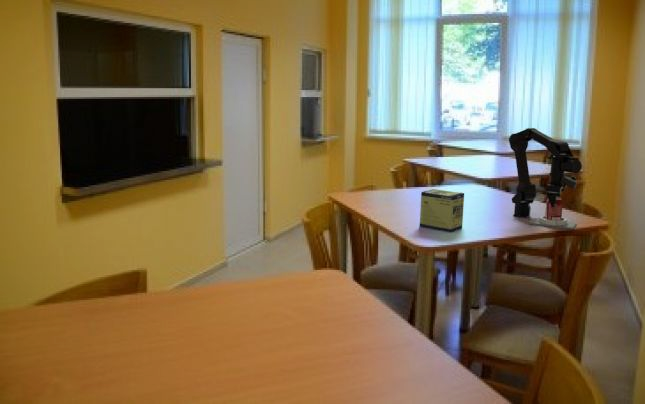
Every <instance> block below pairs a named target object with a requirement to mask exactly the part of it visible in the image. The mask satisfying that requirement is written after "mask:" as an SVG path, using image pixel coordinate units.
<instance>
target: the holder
mask: <svg viewBox="0 0 645 404" xmlns="http://www.w3.org/2000/svg"><path fill="white" fill-rule="evenodd" d="M528 224H529V225H532V226H540V227H547V228H555V229H556V228H557V229H564V230H572V231H573V230H574V228H575V227H576V226H577V222H574V221H568V218H567V217H564V216H562V217H561V220H557V221H556V220H547V219H545V215H541V216H539V217H534V218H532V220H531V221H530V222H529V223H528Z"/></svg>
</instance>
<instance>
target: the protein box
mask: <svg viewBox="0 0 645 404" xmlns="http://www.w3.org/2000/svg"><path fill="white" fill-rule="evenodd" d="M464 201H465V192H457V191H449V190H442V189H429V190H424V191H421V194H420V213H419V215H420V216H419V228H425V229H429V228H430V230H435V231H441V232H446V233H453V232H456V231H458V230H462V229H463V223H464V222H463V219H464Z"/></svg>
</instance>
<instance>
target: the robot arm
mask: <svg viewBox="0 0 645 404" xmlns="http://www.w3.org/2000/svg"><path fill="white" fill-rule="evenodd" d="M531 141H534V142H537V143H538V144H539V145H541V146H544V147H545V148H546V150H547V151H548V152H549V154H550V156H548V157H547V160H551V161H550V162H551V163H550V172H549V181H548V184H547V185H546V186H545V187H544V192H545V194H546V196H547V200H548V199H549V202H550V205H551V207H554V206H555V202H556V198H557V197H559V198H561V195H562V193H563V192H564V191H565V190H566V189H567V187H568V188H570V189H573V190H575V188H576V186H577V184H578V183H579V181H578V180H577V177H576V176H574V175H572V177H569V176H566V175H567V174H566V173H571V174H578V173H579V172H581V170H582V167H583V164H582V163H581V161H580V159H579V157H577V156H574V155H573V152H572V150H571V148H570V146H569V145H570V144H569V143H568V142H567V141H563V140H561V139H560V140H559V139H555V138H552V137H550V136H548V135H547V134H546V133H543V132H541V131H539V129H537V128H535V127H527V128H525V129H524V130H521V131H519V132H516V133H511V134H510V135H509V137H508V142H509V146H510V149H511V150H512V151H513V153H514V156H515V164H516V165H515V166H516V170H517V177H518V184H517V186H516V188H515V189H516V193H515V195H514V196H513V197H512V198H511V202H512V203H513V204H514V211H513V215H512V216H513V217H519V218H528V217H530V215H531V209H532V208H531V207H532V206H531V204H534V200H535V198H536V197H537V189H536V188H537V187H536V184H535V183H532V181H531V179H530V171H529V165H528V159H527V149H528V147H529V142H531Z"/></svg>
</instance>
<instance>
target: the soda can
mask: <svg viewBox="0 0 645 404" xmlns="http://www.w3.org/2000/svg"><path fill="white" fill-rule="evenodd" d="M545 202H546V205H545V212H544V213H545V214H544V216H545V219H547V220H556V221H557V220H561V217H563V216H562V214H563V205H564V202H563V200H562V198H561V197H560V198H559V197H557V198H556V202H555V206H554V207H551V205H550V202H549V199H548V198H547V200H546V201H545Z"/></svg>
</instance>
